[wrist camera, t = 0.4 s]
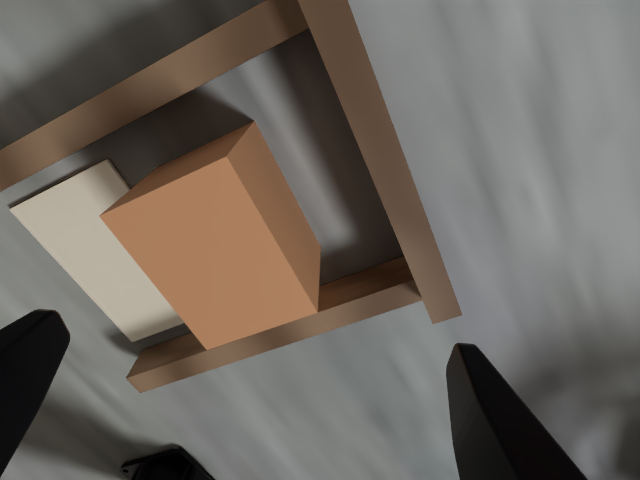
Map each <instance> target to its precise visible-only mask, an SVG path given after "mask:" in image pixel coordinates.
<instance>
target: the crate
mask: <svg viewBox="0 0 640 480" xmlns="http://www.w3.org/2000/svg"><path fill="white" fill-rule="evenodd" d="M99 217H100V218H101V219H102V221H103V222H104V223H105V224H106V226H107V227H108V228H109V229H110V230H111V232H112V233H113V234H114V235H115V237H116V238H117V239H118V240H119V242H120V243H121V244H122V245H123V247H124V248H125V249H126V250H127V252H128V253H129V254H130V255H131V257H132V258H133V259H134V260H135V262H136V263H137V264H138V265H139V267H140V268H141V269H142V270H143V272H144V273H145V274H146V275H147V277H148V278H149V279H150V280H151V282H152V283H153V284H154V285H155V286H156V288H157V289H158V290H159V291H160V293H161V294H162V295H163V296H164V298H165V299H166V300H167V301H168V303H169V304H170V305H171V306H172V308H173V309H174V310H175V311H176V313H177V314H178V315H179V316H180V318H181V319H182V320H183V321H184V323H185V324H186V325H187V326H188V328H189V329H190V330H191V331H192V333H193V334H194V335H195V336H196V337H197V339H198V340H199V341H200V342H201V344H202V345H203V346H204V347H205V349H206V350H209V349H212V348H215V347H218V346H221V345H224V344H227V343H230V342H233V341H236V340H239V339H242V338H244V337H247V336H250V335H253V334H256V333H259V332H262V331H265V330H268V329H271V328H274V327H277V326H280V325H283V324H286V323H289V322H292V321H295V320H298V319H300V318H303V317H306V316H309V315H312V314H315V313H318V295H319V275H320V255H321V247H320V245H319V243H318V241H317V239H316V237H315V235H314V233H313V231H312V230H311V228H310V226H309V224H308V222H307V220H306V218H305V216H304V214H303V212H302V210H301V209H300V207H299V205H298V203H297V201H296V199H295V197H294V195H293V193H292V191H291V190H290V188H289V186H288V184H287V182H286V180H285V178H284V176H283V174H282V172H281V170H280V169H279V167H278V165H277V163H276V161H275V159H274V157H273V155H272V153H271V151H270V150H269V148H268V146H267V144H266V142H265V140H264V138H263V136H262V134H261V132H260V131H259V129H258V127H257V125H256V123H255V121H253V122H251V123H249V124H247V125H245V126H242V127H240V128H238V129H236V130H234V131H232V132H230V133H228V134H226V135H224V136H222V137H220V138H218V139H215V140H213V141H211V142H209V143H207V144H205V145H203V146H201V147H199V148H197V149H195V150H193V151H191V152H188V153H186V154H184V155H182V156H180V157H178V158H176V159H174V160H172V161H170V162H168V163H166V164H164V165H161V166H159V167H157V168H156V169H155V170H153V171H152V172H151V173H150V174H149V175H147V176H146V177H145V178H144V179H143V180H141V181H140V182H139V183H138V184H137V185H135V186H134V187H133V188H132V189H131V190H129V191H128V192H127V193H126V194H125V195H123V196H122V197H121V198H120V199H119V200H117V201H116V202H115V203H114V204H113V205H111V206H110V207H109V208H108V209H107V210H105V211H104V212H103V213H102V214H101V215H99Z"/></svg>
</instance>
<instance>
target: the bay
mask: <svg viewBox="0 0 640 480" xmlns="http://www.w3.org/2000/svg"><path fill="white" fill-rule="evenodd" d="M309 28H310V31H311V33H312V36H313V38H314V40H315V43H316V45H317V48H318V50H319V52H320V55H321V57H322V60H323V62H324V64H325V67H326V69H327V72H328V74H329V76H330V79H331V81H332V84H333V86H334V88H335V91H336V93H337V96H338V98H339V100H340V103H341V105H342V108H343V110H344V112H345V115H346V117H347V120H348V122H349V124H350V127H351V129H352V131H353V134H354V136H355V139H356V141H357V143H358V146H359V148H360V151H361V153H362V155H363V158H364V160H365V163H366V165H367V167H368V170H369V172H370V175H371V177H372V179H373V182H374V184H375V187H376V189H377V191H378V194H379V196H380V199H381V201H382V203H383V206H384V208H385V211H386V213H387V215H388V218H389V220H390V223H391V225H392V227H393V230H394V232H395V235H396V237H397V239H398V242H399V244H400V247H401V249H402V251H403V254H404V256H402V257H399V258H397V259H394V260H391V261H388V262H386V263H383V264H380V265H377V266H374V267H372V268H369V269H366V270H363V271H361V272H358V273H355V274H352V275H349V276H347V277H344V278H341V279H338V280H336V281H333V282H330V283H327V284H324V285H322V286H319V295H318V313H315V314H312V315H309V316H306V317H303V318H300V319H298V320H295V321H292V322H289V323H286V324H283V325H280V326H277V327H274V328H271V329H268V330H265V331H262V332H259V333H256V334H253V335H250V336H247V337H244V338H242V339H239V340H236V341H233V342H230V343H227V344H224V345H221V346H218V347H215V348H212V349H209V350H206V349H205V347H204V346H203V345H202V344H201V342H200V341H199V340H198V339H197V337H196V336H195V335H194V334H193V333H192V332H191V333H188V334H185V335H183V336H180V337H177V338H174V339H171V340H169V341H166V342H163V343H160V344H158V345H155V346H152V347H149V348H146V349H144V350H142V351H141V353H140V355H139V356H138V358H137V360H136V362H135V363H134V365H133V367H132V369H131V370H130V372H129V374H128V375H127V377H126V379H127V380H128V381H129V382H130V383H131V384H132V385H133V386H134V387H135V388H136V389H137V390H138V391H139V392H140V393H142V392H145V391H148V390H151V389H154V388H157V387H160V386H163V385H166V384H169V383H172V382H175V381H178V380H181V379H184V378H187V377H190V376H193V375H196V374H199V373H203V372H206V371H209V370H212V369H215V368H218V367H221V366H224V365H227V364H230V363H233V362H236V361H239V360H242V359H245V358H248V357H251V356H254V355H257V354H260V353H263V352H266V351H269V350H272V349H275V348H279V347H282V346H285V345H288V344H291V343H294V342H297V341H300V340H303V339H306V338H309V337H312V336H315V335H318V334H321V333H324V332H327V331H330V330H333V329H336V328H339V327H342V326H345V325H348V324H352V323H355V322H358V321H361V320H364V319H367V318H370V317H373V316H376V315H379V314H382V313H385V312H388V311H391V310H394V309H397V308H400V307H403V306H406V305H409V304H412V303H415V302H418V301H421V300H423V302H424V304H425V306H426V309H427V311H428V314H429V316H430V318H431V321H432V323H433V324H435V323H438V322H441V321H445V320H448V319H451V318H454V317H457V316H461V315H462V313H461V310H460V307H459V305H458V302H457V299H456V296H455V294H454V291H453V288H452V285H451V283H450V280H449V277H448V274H447V272H446V269H445V266H444V263H443V261H442V258H441V255H440V252H439V250H438V247H437V244H436V241H435V239H434V236H433V233H432V231H431V228H430V225H429V222H428V220H427V217H426V214H425V211H424V209H423V206H422V203H421V200H420V198H419V195H418V192H417V189H416V187H415V184H414V181H413V178H412V176H411V173H410V170H409V167H408V165H407V162H406V159H405V157H404V154H403V151H402V148H401V146H400V143H399V140H398V137H397V135H396V132H395V129H394V126H393V124H392V121H391V118H390V115H389V113H388V110H387V107H386V104H385V102H384V99H383V96H382V94H381V91H380V88H379V85H378V83H377V80H376V77H375V74H374V72H373V69H372V66H371V63H370V61H369V58H368V55H367V52H366V50H365V47H364V44H363V41H362V39H361V36H360V33H359V30H358V28H357V25H356V22H355V20H354V17H353V14H352V11H351V9H350V6H349V3H348V0H265V1H264V2H262V3H260V4H258V5H256V6H255V7H253V8H251V9H249V10H248V11H246V12H244V13H242V14H241V15H239V16H237V17H235V18H233V19H232V20H230V21H228V22H226V23H225V24H223V25H221V26H219V27H217V28H216V29H214V30H212V31H210V32H209V33H207V34H205V35H203V36H201V37H200V38H198V39H196V40H194V41H193V42H191V43H189V44H187V45H186V46H184V47H182V48H180V49H178V50H177V51H175V52H173V53H171V54H170V55H168V56H166V57H164V58H162V59H161V60H159V61H157V62H155V63H154V64H152V65H150V66H148V67H147V68H145V69H143V70H141V71H139V72H138V73H136V74H134V75H132V76H131V77H129V78H127V79H125V80H123V81H122V82H120V83H118V84H116V85H115V86H113V87H111V88H109V89H107V90H106V91H104V92H102V93H100V94H99V95H97V96H95V97H93V98H92V99H90V100H88V101H86V102H84V103H83V104H81V105H79V106H77V107H76V108H74V109H72V110H70V111H68V112H67V113H65V114H63V115H61V116H60V117H58V118H56V119H54V120H53V121H51V122H49V123H47V124H45V125H44V126H42V127H40V128H38V129H37V130H35V131H33V132H31V133H29V134H28V135H26V136H24V137H22V138H21V139H19V140H17V141H15V142H13V143H12V144H10V145H8V146H6V147H5V148H3V149H1V150H0V192H1V191H3V190H5V189H6V188H8V187H10V186H12V185H14V184H16V183H18V182H20V181H22V180H23V179H25V178H27V177H29V176H31V175H33V174H35V173H37V172H39V171H40V170H42V169H44V168H46V167H48V166H50V165H52V164H54V163H56V162H57V161H59V160H61V159H63V158H65V157H67V156H69V155H71V154H73V153H74V152H76V151H78V150H80V149H82V148H84V147H86V146H88V145H90V144H91V143H93V142H95V141H97V140H99V139H101V138H103V137H105V136H107V135H108V134H110V133H112V132H114V131H116V130H118V129H120V128H122V127H124V126H125V125H127V124H129V123H131V122H133V121H135V120H137V119H139V118H141V117H142V116H144V115H146V114H148V113H150V112H152V111H154V110H156V109H158V108H159V107H161V106H163V105H165V104H167V103H169V102H171V101H173V100H175V99H176V98H178V97H180V96H182V95H184V94H186V93H188V92H190V91H191V90H193V89H195V88H197V87H199V86H201V85H203V84H205V83H207V82H208V81H210V80H212V79H214V78H216V77H218V76H220V75H222V74H224V73H225V72H227V71H229V70H231V69H233V68H235V67H237V66H239V65H241V64H242V63H244V62H246V61H248V60H250V59H252V58H254V57H256V56H258V55H259V54H261V53H263V52H265V51H267V50H269V49H271V48H273V47H275V46H276V45H278V44H280V43H282V42H284V41H286V40H288V39H290V38H292V37H293V36H295V35H297V34H299V33H301V32H303V31H305V30H307V29H309ZM129 190H131V189H130V188H129V186H128V185H127V183H126V182H125V181H124V179H123V178H122V177H121V175H120V174H119V173H118V171H117V170H116V169H115V167H114V166H113V165H112V163H111V162H110V161H109V159H106V160H104V161H102V162H100V163H99V164H97V165H95V166H93V167H91V168H89V169H87V170H85V171H83V172H81V173H79V174H77V175H75V176H73V177H71V178H69V179H67V180H65V181H63V182H61V183H59V184H58V185H56V186H54V187H52V188H50V189H48V190H46V191H44V192H42V193H40V194H38V195H36V196H34V197H32V198H30V199H28V200H26V201H24V202H22V203H20V204H18V205H16V206H15V207H13V208H11V209H9V210H10V211H11V212H12V213H13V214H14V215H15V216H16V217H17V219H18V220H19V221H20V222H21V223H22V224H23V225H24V226H25V227H26V228H27V229H28V230H29V232H30V233H31V234H32V235H33V236H34V237H35V238H36V239H37V240H38V241H39V242H40V243H41V245H42V246H43V247H44V248H45V249H46V250H47V251H48V252H49V253H50V254H51V255H52V256H53V257H54V259H55V260H56V261H57V262H58V263H59V264H60V265H61V266H62V267H63V268H64V269H65V270H66V272H67V273H68V274H69V275H70V276H71V277H72V278H73V279H74V280H75V281H76V282H77V283H78V285H79V286H80V287H81V288H82V289H83V290H84V291H85V292H86V293H87V294H88V295H89V296H90V298H91V299H92V300H93V301H94V302H95V303H96V304H97V305H98V306H99V307H100V308H101V309H102V311H103V312H104V313H105V314H106V315H107V316H108V317H109V318H110V319H111V320H112V321H113V322H114V323H115V325H116V326H117V327H118V328H119V329H120V330H121V331H122V332H123V333H124V334H125V335H126V336H127V338H128V339H129V340H130V341H131V342H134V341H137V340H140V339H143V338H145V337H148V336H151V335H153V334H156V333H159V332H162V331H164V330H167V329H170V328H172V327H175V326H178V325H181V324H183V323H184V321H183V320H182V319H181V318H180V316H179V315H178V314H177V313H176V311H175V310H174V309H173V308H172V306H171V305H170V304H169V303H168V301H167V300H166V299H165V298H164V296H163V295H162V294H161V293H160V291H159V290H158V289H157V288H156V286H155V285H154V284H153V283H152V282H151V280H150V279H149V278H148V277H147V275H146V274H145V273H144V272H143V270H142V269H141V268H140V267H139V265H138V264H137V263H136V262H135V260H134V259H133V258H132V257H131V255H130V254H129V253H128V252H127V250H126V249H125V248H124V247H123V245H122V244H121V243H120V242H119V240H118V239H117V238H116V237H115V235H114V234H113V233H112V232H111V230H110V229H109V228H108V227H107V226H106V224H105V223H104V222H103V221H102V219H101V218H100V217H99V215H101V214H102V213H103V212H104V211H105V210H107V209H108V208H109V207H110V206H111V205H113V204H114V203H115V202H116V201H117V200H119V199H120V198H121V197H122V196H123V195H125V194H126V193H127V192H128V191H129Z"/></svg>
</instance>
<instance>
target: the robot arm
mask: <svg viewBox="0 0 640 480" xmlns="http://www.w3.org/2000/svg"><path fill="white" fill-rule="evenodd" d="M69 342H70V333H69V331H68V329H67V327H66V325H65V323H64V321H63V319H62V318H61V316H60V314H59V313H58V312H57V311H55V310H47V309H37V310H34V311H32V312H30V313H29V314H27V315H25V316H23V317H22V318H20V319H18V320H16V321H15V322H13V323H11V324H9V325H8V326H6V327H4V328H2V329H1V330H0V477H1V475H2V474H3V472H4V470H5V468H6V467H7V465H8V463H9V461H10V460H11V458H12V456H13V454H14V453H15V451H16V449H17V447H18V446H19V444H20V442H21V440H22V439H23V437H24V435H25V433H26V432H27V430H28V428H29V426H30V425H31V423H32V421H33V419H34V418H35V416H36V414H37V412H38V410H39V408H40V407H41V405H42V402H43V400H44V398H45V396H46V394H47V392H48V390H49V387H50V385H51V383H52V381H53V378H54V376H55V374H56V372H57V370H58V367H59V365H60V363H61V361H62V358H63V356H64V354H65V352H66V349H67V347H68V345H69ZM446 378H447V389H448V399H449V410H450V421H451V431H452V440H453V447H454V453H455V458H456V463H457V468H458V473H459V477H460V480H588V479H587V478H586V477H585V476H584V474H583V473H582V472H581V471H580V470H579V468H578V467H577V466H576V465H575V464H574V462H573V461H572V460H571V459H570V458H569V456H568V455H567V454H566V453H565V452H564V450H563V449H562V448H561V447H560V445H559V444H558V443H557V442H556V441H555V439H554V438H553V437H552V436H551V435H550V433H549V432H548V431H547V430H546V429H545V427H544V426H543V425H542V424H541V423H540V421H539V420H538V419H537V418H536V417H535V415H534V414H533V413H532V412H531V411H530V409H529V408H528V407H527V406H526V405H525V403H524V402H523V401H522V400H521V399H520V397H519V396H518V395H517V394H516V392H515V391H514V390H513V389H512V388H511V386H510V385H509V384H508V383H507V382H506V380H505V379H504V378H503V377H502V376H501V374H500V373H499V372H498V371H497V370H496V368H495V367H494V366H493V365H492V364H491V362H490V361H489V360H488V359H487V358H486V356H485V355H484V354H483V353H482V352H481V350H480V349H479V348H478V347H477V346H476V345H474V344H467V343H457V344H455V346H454V347H453V350H452V353H451V356H450V358H449V361H448V364H447V368H446ZM120 472H121V473H122V474H124V475H125V476H126V477H127V478H128V479H130V480H214V479H213V478H212V477H211V476H210V475H209V474H208V473H207V472H206V471H205V470H204V469H203V468H202V467H201V466H200V465H198V464H197V463H196V462H195V461H194V460H193V459H192V458H191V457H190V456H189V455H188V454H187V453H186V452H185V451H184V450H183V449H173V450H170V451H166V452H163V453H159V454H156V455H152V456H149V457H145V458H141V459H138V460H134V461H131V462H127V463H124V464H122V466H121V468H120Z"/></svg>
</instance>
